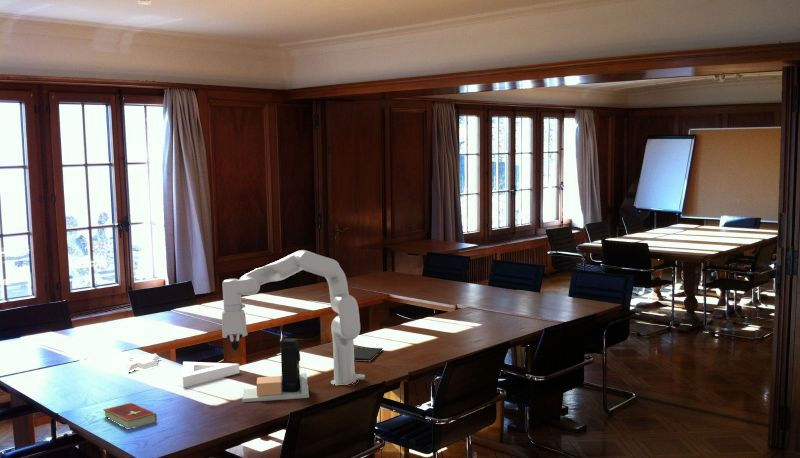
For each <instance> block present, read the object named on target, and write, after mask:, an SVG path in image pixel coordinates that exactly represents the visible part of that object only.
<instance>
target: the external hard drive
mask: <svg viewBox="0 0 800 458" xmlns="http://www.w3.org/2000/svg"><path fill="white" fill-rule="evenodd" d="M359 347H360V346H359ZM359 347H356V348H354V360H371V359H372V358H373V357H374V356H375V355H376V354H378V353H379V352H380V351H381V350H382V349H383V347H364V348H362V349H361V348H359ZM365 348H366V349H365ZM383 350H384V349H383Z"/></svg>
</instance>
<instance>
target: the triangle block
mask: <svg viewBox="0 0 800 458" xmlns="http://www.w3.org/2000/svg"><path fill="white" fill-rule="evenodd" d="M237 374H240V363H230V362H229V363H228V362H201V361H199V362H198V361H183V362H182V385H183V386H182V387H183V388H187V387H190V386H191V387H192V386H195V385H198V384H199V385H200V384H202V383H207V382H210V381H211V382H212V381H214V380H217V379H222V378H225V377H229V376H233V375H237Z"/></svg>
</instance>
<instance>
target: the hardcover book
mask: <svg viewBox="0 0 800 458" xmlns="http://www.w3.org/2000/svg"><path fill="white" fill-rule="evenodd" d="M102 410H103V411H104V417H105V416H106V417H108V418H110V419H111V420H113V421H115V422H117V423H119V424H121V425H123V426H124V427H126V428H133V427H137V428H139V427H138V426H141V427H143V426H142V425H144V426H147V425H146V424H148V425H151V424H154V423H155V424H156V423H157V421H158V418H157V417H158V416H157V413H156V412H153V411H151V410H149V409H147V408H144V407H142V406H140V405H137V404H135V403H133V402H129V403H124V404H120V405H116V406H110V407H109V408H108V407H107V408H104V409H102ZM106 417H105V418H106ZM111 420H110V421H111ZM113 421H112V422H113ZM115 422H114V423H115ZM117 423H116V424H117Z"/></svg>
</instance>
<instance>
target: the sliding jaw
mask: <svg viewBox="0 0 800 458" xmlns="http://www.w3.org/2000/svg"><path fill="white" fill-rule="evenodd" d="M256 378H257V379H256V389H257V396H263V395H278V394H282V375H275V376H261V377H260V376H259V377H256Z"/></svg>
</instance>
